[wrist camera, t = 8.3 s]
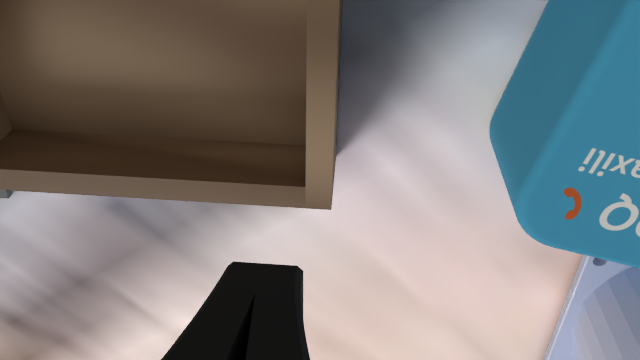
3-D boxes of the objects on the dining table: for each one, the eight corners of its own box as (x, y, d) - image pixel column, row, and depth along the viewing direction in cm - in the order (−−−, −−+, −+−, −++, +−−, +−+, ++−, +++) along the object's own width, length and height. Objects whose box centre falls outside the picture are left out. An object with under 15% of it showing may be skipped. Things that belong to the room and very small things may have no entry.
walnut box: (335, 157, 20) (330, 209, 18) (5, 138, 21) (-44, 186, 18) (352, -225, 14) (348, -227, 11) (-124, -237, 14) (-226, -241, 12)
